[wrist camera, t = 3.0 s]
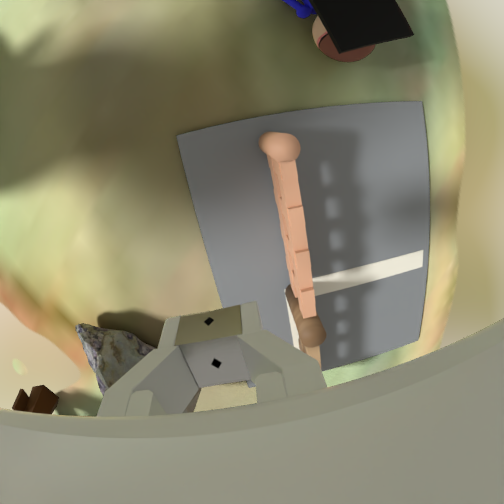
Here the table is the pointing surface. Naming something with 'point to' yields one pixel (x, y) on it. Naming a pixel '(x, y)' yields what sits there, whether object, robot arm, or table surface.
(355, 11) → the figurine character
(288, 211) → the hinged fence panel
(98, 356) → the mineral rock
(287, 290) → the fixed fence section
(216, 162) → the card
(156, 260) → the table surface
